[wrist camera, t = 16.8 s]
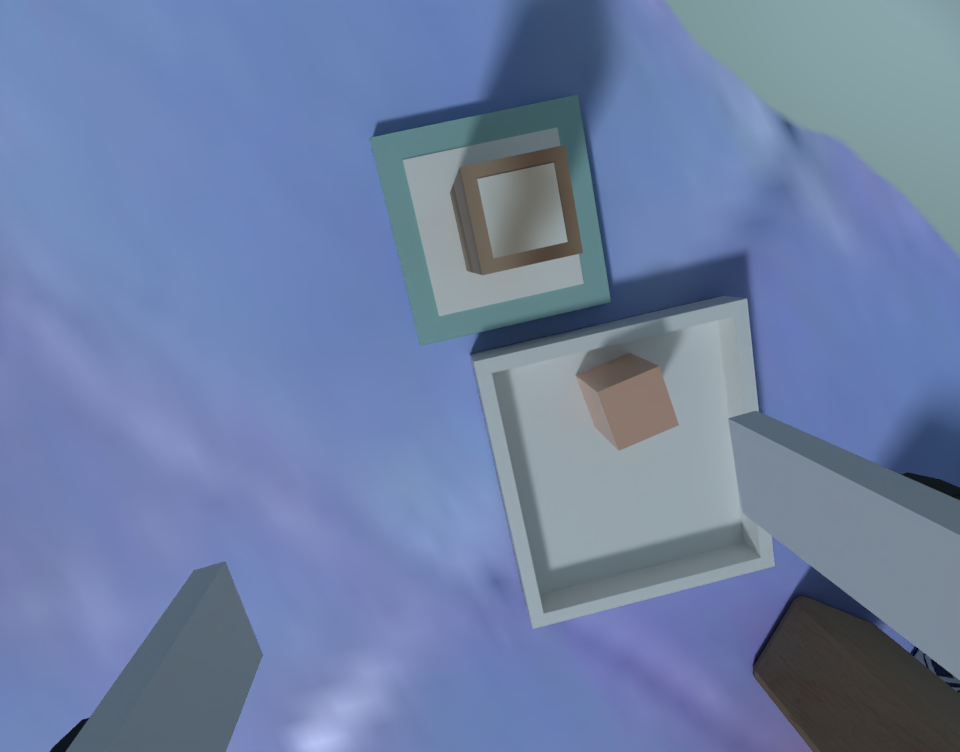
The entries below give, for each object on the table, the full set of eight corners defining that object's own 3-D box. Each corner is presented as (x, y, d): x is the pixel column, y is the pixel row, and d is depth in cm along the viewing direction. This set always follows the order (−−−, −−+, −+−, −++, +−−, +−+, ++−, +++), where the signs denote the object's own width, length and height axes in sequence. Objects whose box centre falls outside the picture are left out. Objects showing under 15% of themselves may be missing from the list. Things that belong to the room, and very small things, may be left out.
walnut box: (466, 271, 43) (482, 275, 32) (449, 192, 42) (459, 166, 30) (540, 254, 44) (583, 252, 32) (526, 176, 42) (565, 144, 30)
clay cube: (594, 427, 48) (618, 450, 42) (575, 375, 46) (597, 392, 41) (647, 404, 48) (678, 425, 42) (629, 352, 47) (659, 366, 41)
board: (420, 343, 45) (420, 346, 44) (371, 141, 42) (369, 137, 41) (606, 301, 46) (611, 302, 45) (573, 98, 43) (578, 94, 41)
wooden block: (744, 671, 56) (917, 893, 36) (794, 588, 54) (1002, 773, 35) (822, 699, 57) (1028, 926, 38) (873, 620, 56) (1113, 813, 36)
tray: (525, 604, 51) (532, 628, 48) (469, 354, 46) (473, 361, 43) (752, 546, 53) (774, 566, 49) (723, 295, 47) (747, 298, 44)
